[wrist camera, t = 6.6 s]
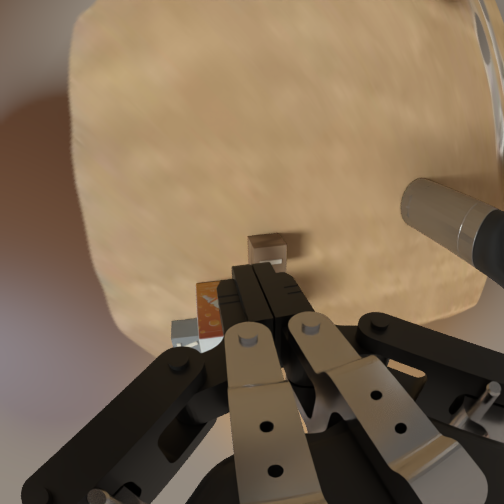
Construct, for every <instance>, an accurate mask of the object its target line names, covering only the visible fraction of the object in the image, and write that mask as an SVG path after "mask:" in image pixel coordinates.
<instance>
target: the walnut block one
mask: <svg viewBox="0 0 504 504" xmlns="http://www.w3.org/2000/svg"><path fill="white" fill-rule="evenodd" d="M286 261H287V244H286V243H285V242H284V240H283V239H282V238H281V237H280V235H279V234H278V233H274V234H264V235H254V236H248V262H249V264H250V265H251V264H254V263H262V262H270V263H271V265H272V267H273V268H274V270H275V272H276V273H279V272H285V273H286Z"/></svg>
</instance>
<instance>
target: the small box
mask: <svg viewBox="0 0 504 504" xmlns="http://www.w3.org/2000/svg"><path fill="white" fill-rule="evenodd" d="M219 282H220V281H216V282H207V283H197V284H196V305H197V322H198V336H199V343H200V349H201V353H203V352H205V351H208V350H210V349H212V348H214V347H216V346H217V345H218V344H219V343H220V342H221V341H222V339H223V337H224V336H223V331H222V325H221V320H220V312H219V305H218V297H217V289H216V288H217V286H218V284H219Z"/></svg>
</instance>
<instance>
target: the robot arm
mask: <svg viewBox="0 0 504 504" xmlns="http://www.w3.org/2000/svg"><path fill="white" fill-rule="evenodd" d="M401 214H402V217H403V219H404V221H405V222H406V223H407V225H409V226H411V227H412V228H414V229H416V230H417V231H419V232H421V233H422V234H424V235H425V236H427V237H429V238H430V239H432V240H434V241H435V242H437V243H438V244H440V245H442V246H443V247H445V248H446V249H448V250H449V251H451V252H452V253H454V254H455V255H457V256H458V257H460V258H461V259H463V260H465V261H466V262H468V263H469V264H470V265H472V266H473V267H475V268H476V269H478V270H479V271H481V272H482V273H484V274H485V275H487V276H488V277H489V278H491V279H492V280H493V281H495V282H496V283H498V284H499V285H500V286H501V287H503V288H504V212H503V211H501V210H499V209H497V208H495V207H493V206H491V205H489V204H486V203H484V202H482V201H479V200H477V199H475V198H473V197H470V196H468V195H466V194H463V193H461V192H458V191H456V190H453V189H451V188H448V187H446V186H443V185H441V184H438V183H435V182H433V181H430V180H427V179H424V178H420V179H416V180H415V181H413V182H412V183H411V184H410V185H409V186H408V187H407V189H406V190H405V192H404V195H403V197H402V202H401ZM216 289H217V297H218V305H219V312H220V320H221V325H222V331H223V336H224V337H223V339H222V341H221V342H220V343H219V344H218V345H217V346H216V347H214V348H212V349H210V350H208V351H205V352H203V353H200V352H199V351H198V350H196V349H194V348H191V347H186V346H179V347H174V348H170V349H168V350H166V351H165V352H163V353H162V354H161V355H160V356H158V357H157V358H156V359H155V360H154V361H153V362H152V363H151V364H150V365H149V366H148V367H147V368H146V369H145V370H144V371H143V372H142V373H141V374H140V375H139V376H138V377H136V379H134V380H133V381H132V382H131V383H130V384H129V385H128V386H127V387H126V388H125V389H124V390H123V391H122V392H121V393H120V394H119V395H117V396H116V397H115V398H114V399H113V400H112V401H111V402H110V403H109V404H108V405H107V406H106V407H105V408H104V409H103V410H102V411H101V412H99V413H98V414H97V415H96V416H95V417H94V418H93V419H92V420H91V421H90V422H89V423H88V424H87V425H86V426H85V427H83V428H82V429H81V430H80V431H79V432H78V433H77V434H76V435H75V436H74V437H73V438H72V439H71V440H70V441H68V442H67V443H66V444H65V445H64V446H63V447H62V448H61V449H60V450H59V451H58V452H57V453H56V454H54V456H52V457H51V458H50V459H49V460H48V461H47V462H46V463H45V464H44V465H42V466H41V467H40V468H39V469H38V470H37V471H36V472H35V473H34V474H33V475H32V476H31V477H29V478H28V479H27V480H26V481H25V483H24V485H23V487H22V491H21V499H22V504H151V502H152V501H153V500H154V499H155V498H156V497H157V495H158V494H159V493H160V492H161V491H162V489H163V488H164V487H165V486H166V485H167V484H168V482H169V481H170V480H171V479H172V478H173V476H174V475H175V474H176V473H177V472H178V470H179V469H180V468H181V467H182V465H183V464H184V463H185V461H186V460H187V459H188V457H190V455H191V454H192V453H193V451H194V450H195V449H196V447H197V446H198V445H199V444H200V442H201V441H202V440H203V439H204V437H205V436H206V435H207V433H208V432H209V431H210V429H211V428H212V427H213V425H214V424H215V422H216V420H217V417H220V416H222V415H224V414H227V413H228V412H230V421H231V432H232V441H233V450H234V454H233V455H232V456H230V457H228V458H226V459H224V460H223V461H221V462H220V463H219V464H217V465H216V466H215V467H214V468H212V469H211V470H210V471H209V473H207V475H206V476H205V477H204V478H203V479H202V481H201V482H200V484H199V485H198V486H197V488H196V489H195V491H194V492H193V494H192V495H191V497H190V498H189V499H188V501H187V502H186V503H185V504H504V354H502V353H500V352H497V351H493V350H491V349H487V348H485V347H482V346H478V345H476V344H473V343H470V342H467V341H463V340H461V339H458V338H455V337H452V336H448V335H446V334H443V333H440V332H437V331H434V330H431V329H428V328H425V327H422V326H419V325H417V324H414V323H411V322H408V321H405V320H402V319H399V318H396V317H393V316H391V315H388V314H385V313H380V312H371V313H367V314H365V315H363V316H362V317H361V318H360V319H359V322H358V326H341V325H334V323H333V322H332V321H331V320H330V319H329V318H328V317H327V316H325V315H324V314H321V313H318V312H315V311H314V309H313V308H312V306H311V305H310V303H309V302H308V300H307V298H306V297H305V295H304V294H303V292H302V291H301V289H300V287H299V286H298V284H297V283H296V281H295V280H294V278H293V277H292V276H290V275H288V274H287V273H285V272H279V273H276V272H275V270H274V268H273V267H272V265H271V263H270V262H262V263H254V264H251V265H250V264H247V265H240V266H232V279H228V280H221V281H220V282H219V284H218V286H217V288H216ZM389 359H392V360H394V361H397V362H399V363H402V364H405V365H408V366H410V367H413V368H416V369H418V370H421V371H423V372H424V373H425V374H426V375H425V376H423V377H420V378H417V377H413V376H411V375H408V374H405V373H403V372H400V371H398V370H395V369H392V368H390V367H387V365H388V362H389ZM283 367H284V370H285V372H286V380H284V378H283V374H282V370H281V368H283ZM298 410H299V412H300V414H301V416H302V418H303V420H304V422H305V424H306V427H307V431H308V433H306V434H305V433H304V430H303V426H302V422H301V419H300V415H299V412H298Z"/></svg>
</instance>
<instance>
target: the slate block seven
mask: <svg viewBox="0 0 504 504" xmlns="http://www.w3.org/2000/svg"><path fill="white" fill-rule="evenodd" d="M171 340H172V344H173V347H179V346H186V347H191V348H194V349H196V350H198V351H199V352H200V353H201V349H200V343H199V336H198V322H197V318H196V319H186V320H177V321H172V328H171Z"/></svg>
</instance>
